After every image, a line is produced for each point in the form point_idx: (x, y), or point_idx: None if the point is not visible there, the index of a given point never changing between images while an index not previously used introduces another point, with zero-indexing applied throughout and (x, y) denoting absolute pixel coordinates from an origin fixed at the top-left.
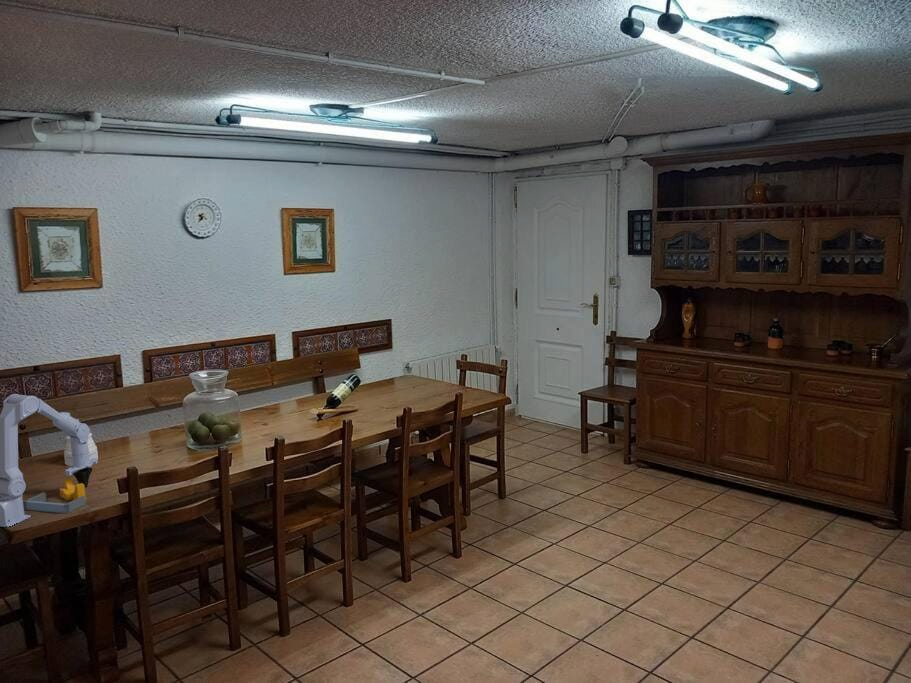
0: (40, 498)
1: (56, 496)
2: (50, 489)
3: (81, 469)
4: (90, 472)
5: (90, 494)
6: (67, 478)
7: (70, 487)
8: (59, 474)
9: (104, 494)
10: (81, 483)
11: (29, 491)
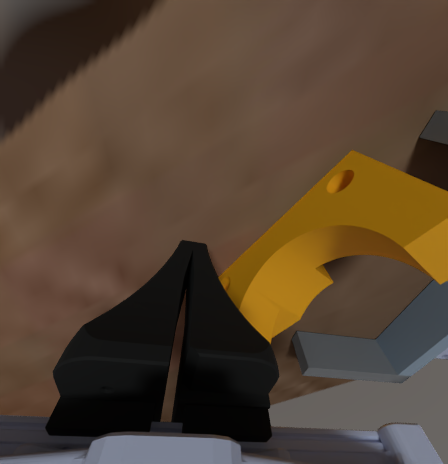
0: (331, 353)
1: None
2: (173, 365)
3: (216, 431)
4: (126, 311)
5: (235, 178)
6: None
7: (263, 311)
8: (27, 399)
9: (242, 47)
10: (412, 248)
11: None
